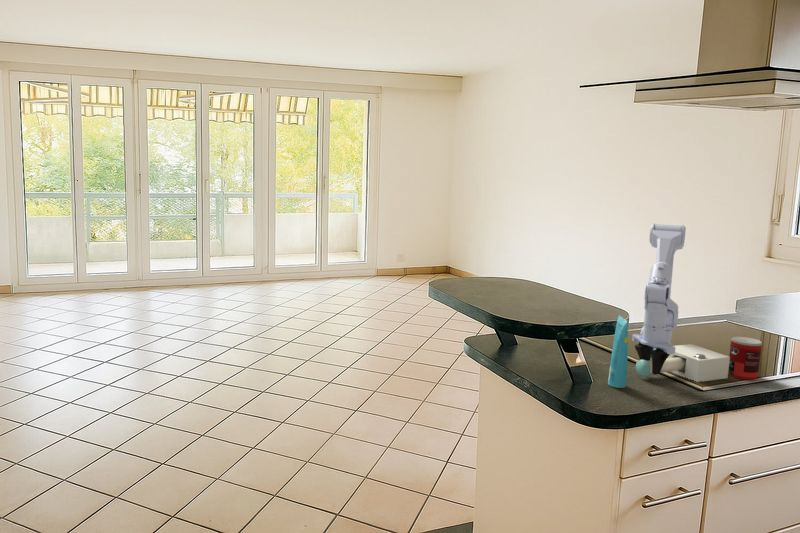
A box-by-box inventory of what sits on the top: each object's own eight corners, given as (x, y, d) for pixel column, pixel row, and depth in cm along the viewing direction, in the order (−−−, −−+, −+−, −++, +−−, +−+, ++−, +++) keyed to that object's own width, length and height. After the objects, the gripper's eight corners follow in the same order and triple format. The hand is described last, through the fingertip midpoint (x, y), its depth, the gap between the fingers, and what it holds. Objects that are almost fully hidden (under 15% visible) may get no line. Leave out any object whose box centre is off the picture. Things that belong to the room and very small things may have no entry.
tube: (630, 390, 168) (637, 321, 165) (613, 390, 168) (619, 321, 165) (619, 380, 175) (625, 314, 172) (603, 380, 175) (608, 314, 172)
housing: (659, 367, 189) (661, 347, 188) (689, 363, 193) (691, 343, 192) (696, 382, 176) (698, 360, 175) (727, 378, 180) (729, 356, 179)
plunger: (692, 367, 179) (694, 354, 178) (699, 366, 180) (700, 353, 179) (699, 370, 177) (701, 356, 176) (705, 369, 178) (707, 356, 177)
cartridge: (635, 373, 179) (636, 357, 178) (679, 368, 185) (680, 352, 185) (647, 378, 175) (648, 362, 174) (692, 373, 181) (693, 357, 180)
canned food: (730, 370, 188) (734, 335, 186) (760, 376, 183) (764, 340, 181) (724, 376, 182) (728, 339, 180) (755, 382, 177) (759, 345, 175)
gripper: (625, 320, 181) (621, 365, 183) (663, 333, 168) (658, 380, 170) (644, 319, 184) (640, 363, 186) (682, 331, 170) (678, 378, 172)
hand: (650, 371), depth 178 cm, fingers closed on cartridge, 4 cm apart
